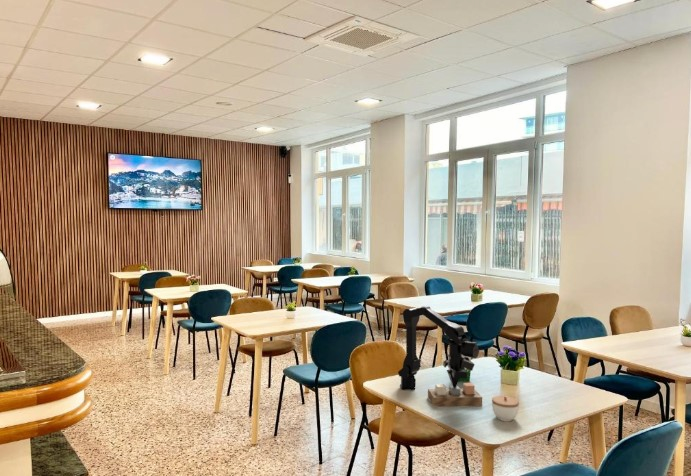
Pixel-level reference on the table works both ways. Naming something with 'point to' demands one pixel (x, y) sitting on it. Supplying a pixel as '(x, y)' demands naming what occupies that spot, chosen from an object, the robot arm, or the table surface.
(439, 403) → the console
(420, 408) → the table surface
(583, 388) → the table surface
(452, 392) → the grey cube
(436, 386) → the ivory key
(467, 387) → the orange cube
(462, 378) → the milk carton
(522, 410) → the table surface
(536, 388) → the table surface
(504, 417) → the lidded jar
